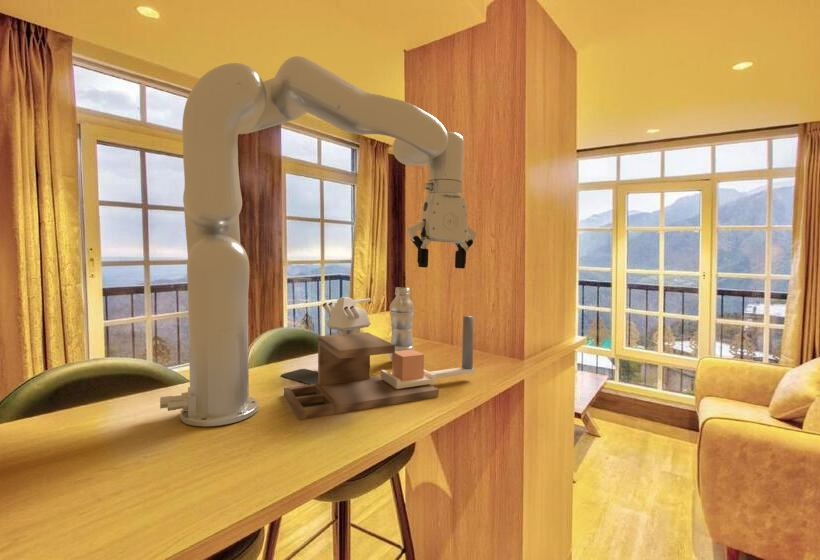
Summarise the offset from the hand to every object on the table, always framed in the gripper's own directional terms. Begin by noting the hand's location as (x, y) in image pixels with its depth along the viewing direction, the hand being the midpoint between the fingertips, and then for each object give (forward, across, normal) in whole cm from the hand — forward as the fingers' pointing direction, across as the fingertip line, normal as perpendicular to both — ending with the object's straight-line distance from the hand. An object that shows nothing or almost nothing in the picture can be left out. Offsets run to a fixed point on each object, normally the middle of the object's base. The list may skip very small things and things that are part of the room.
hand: (441, 267), depth 94 cm
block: (+23, -9, -2) cm, 25 cm away
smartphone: (+27, -25, +14) cm, 40 cm away
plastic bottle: (+26, 0, +18) cm, 32 cm away
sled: (+24, -2, -2) cm, 24 cm away
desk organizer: (+26, -19, -2) cm, 33 cm away
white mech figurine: (+26, -14, +19) cm, 36 cm away
